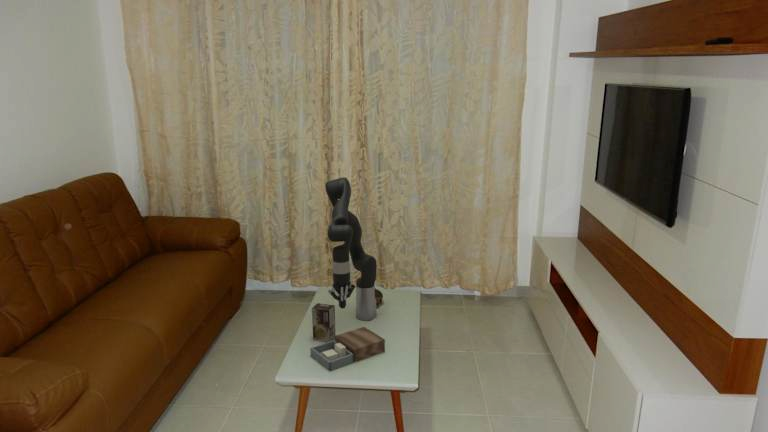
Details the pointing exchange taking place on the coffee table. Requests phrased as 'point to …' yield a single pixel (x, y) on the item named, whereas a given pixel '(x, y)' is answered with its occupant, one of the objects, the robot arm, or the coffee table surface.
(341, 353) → the rear tile
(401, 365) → the coffee table surface
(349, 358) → the box
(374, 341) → the block
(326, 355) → the front tile
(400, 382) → the coffee table surface
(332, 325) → the coffee box
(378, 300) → the decorative turtle
